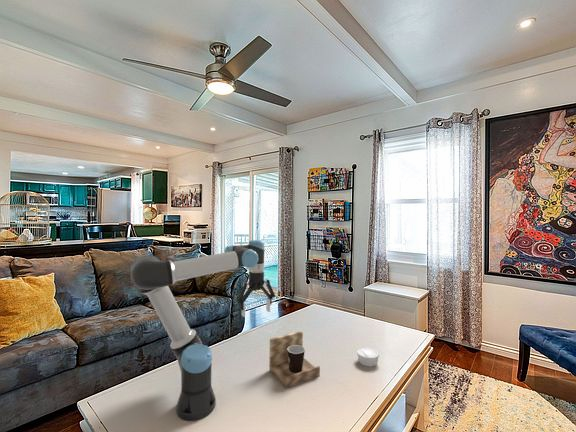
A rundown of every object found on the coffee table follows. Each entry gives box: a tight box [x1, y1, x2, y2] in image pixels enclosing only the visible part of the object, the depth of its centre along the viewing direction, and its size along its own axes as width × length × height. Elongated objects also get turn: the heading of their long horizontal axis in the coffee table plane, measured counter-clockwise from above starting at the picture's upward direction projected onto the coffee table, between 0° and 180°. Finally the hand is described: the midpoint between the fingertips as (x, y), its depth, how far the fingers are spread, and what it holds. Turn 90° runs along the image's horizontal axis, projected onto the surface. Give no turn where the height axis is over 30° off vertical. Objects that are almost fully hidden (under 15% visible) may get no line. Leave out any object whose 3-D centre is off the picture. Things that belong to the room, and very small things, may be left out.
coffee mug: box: [287, 345, 306, 373], centre depth 141 cm, size 12×9×10 cm
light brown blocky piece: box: [269, 330, 321, 389], centre depth 141 cm, size 19×16×16 cm
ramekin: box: [356, 347, 380, 368], centre depth 152 cm, size 11×11×5 cm
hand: (256, 313), depth 142 cm, fingers open, 13 cm apart
